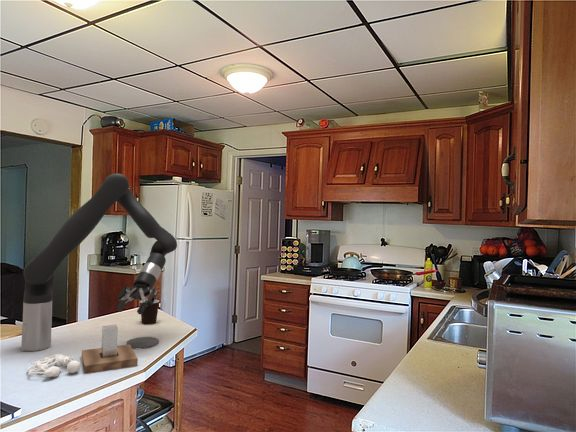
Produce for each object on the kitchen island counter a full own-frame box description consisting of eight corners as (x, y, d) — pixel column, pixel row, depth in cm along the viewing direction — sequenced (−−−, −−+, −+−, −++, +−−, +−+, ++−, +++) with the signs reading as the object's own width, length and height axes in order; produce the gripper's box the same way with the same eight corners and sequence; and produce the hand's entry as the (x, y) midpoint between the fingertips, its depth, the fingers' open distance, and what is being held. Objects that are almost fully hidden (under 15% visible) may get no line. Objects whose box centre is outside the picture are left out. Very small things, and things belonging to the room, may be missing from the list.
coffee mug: (154, 325, 184) (155, 303, 184) (136, 324, 185) (136, 303, 185) (163, 319, 196) (163, 298, 196) (145, 318, 196) (146, 297, 196)
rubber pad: (129, 350, 151) (129, 348, 151) (124, 341, 161) (124, 339, 161) (161, 346, 157) (161, 344, 157) (155, 337, 167) (155, 335, 167)
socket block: (84, 373, 128) (84, 365, 128) (81, 357, 142) (81, 350, 142) (137, 365, 136) (137, 358, 136) (129, 351, 150) (129, 344, 150)
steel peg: (102, 364, 136) (103, 329, 136) (101, 360, 140) (102, 325, 140) (116, 362, 138) (117, 327, 138) (114, 358, 142) (116, 324, 142)
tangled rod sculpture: (22, 368, 134) (21, 356, 134) (70, 356, 143) (69, 344, 143) (32, 387, 119) (31, 373, 119) (85, 371, 129) (84, 359, 129)
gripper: (128, 269, 159) (107, 304, 148) (160, 272, 155) (141, 308, 144) (136, 281, 164) (116, 315, 153) (167, 283, 161) (149, 319, 149)
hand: (128, 312), depth 149 cm, fingers open, 8 cm apart
